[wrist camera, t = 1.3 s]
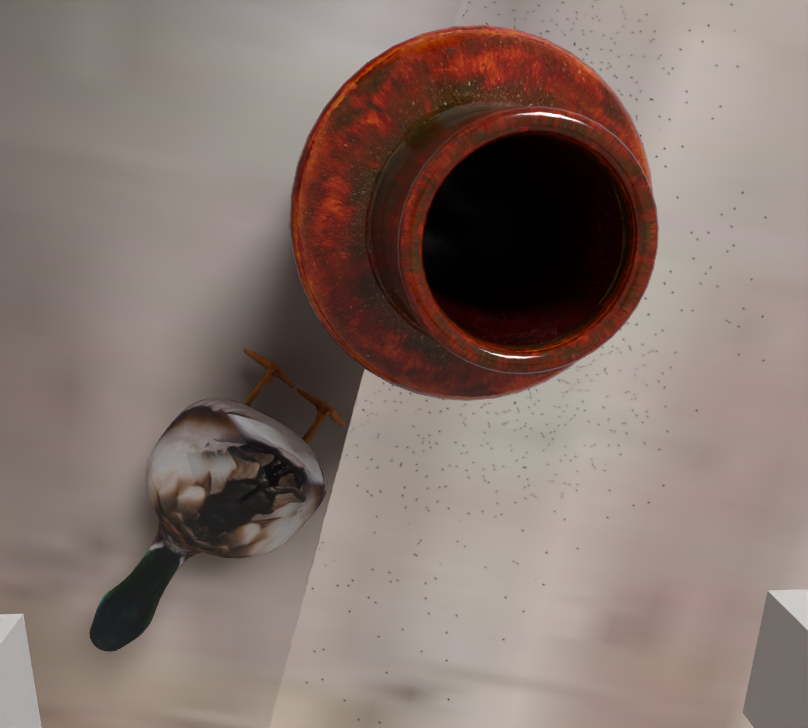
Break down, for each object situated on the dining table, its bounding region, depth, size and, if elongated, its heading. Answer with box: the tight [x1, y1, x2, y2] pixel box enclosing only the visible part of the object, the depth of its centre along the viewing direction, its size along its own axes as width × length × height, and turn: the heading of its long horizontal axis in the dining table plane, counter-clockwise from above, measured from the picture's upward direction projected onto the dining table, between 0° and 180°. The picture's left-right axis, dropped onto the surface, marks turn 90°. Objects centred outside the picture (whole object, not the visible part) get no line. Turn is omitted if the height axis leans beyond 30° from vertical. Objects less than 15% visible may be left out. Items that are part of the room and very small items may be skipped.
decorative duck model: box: [90, 348, 345, 651], centre depth 28 cm, size 15×8×15 cm, turn 139°
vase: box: [290, 25, 659, 401], centre depth 23 cm, size 11×11×20 cm
